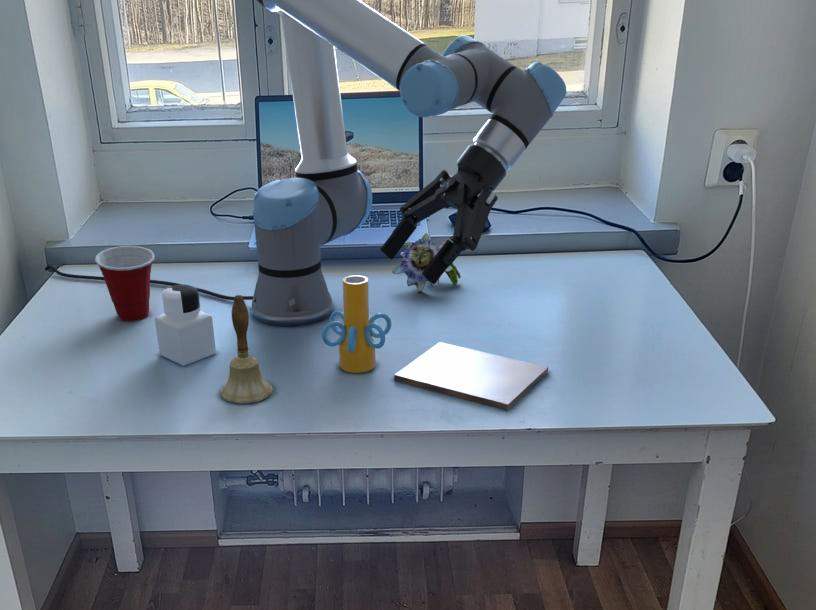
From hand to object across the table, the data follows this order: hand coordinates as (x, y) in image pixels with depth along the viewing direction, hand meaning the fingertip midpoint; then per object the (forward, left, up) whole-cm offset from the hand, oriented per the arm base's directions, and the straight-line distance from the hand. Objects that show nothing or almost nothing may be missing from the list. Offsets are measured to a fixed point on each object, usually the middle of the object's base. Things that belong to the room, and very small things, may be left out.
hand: (405, 266), depth 147 cm
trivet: (+13, -2, -15) cm, 21 cm away
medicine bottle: (-33, -19, -16) cm, 41 cm away
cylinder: (-5, -8, -16) cm, 18 cm away
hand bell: (-15, -25, -16) cm, 33 cm away
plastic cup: (-54, -11, -16) cm, 57 cm away
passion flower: (-14, +31, -16) cm, 38 cm away
